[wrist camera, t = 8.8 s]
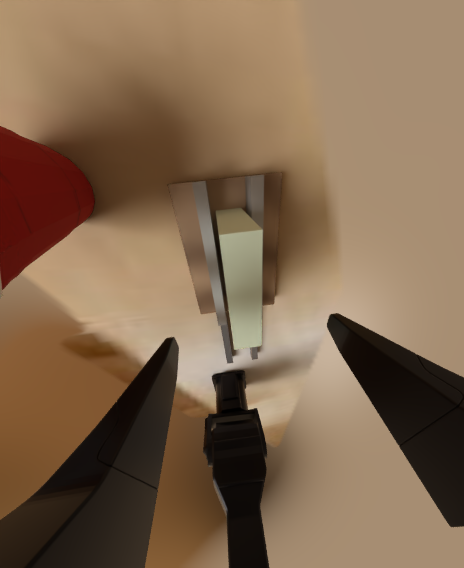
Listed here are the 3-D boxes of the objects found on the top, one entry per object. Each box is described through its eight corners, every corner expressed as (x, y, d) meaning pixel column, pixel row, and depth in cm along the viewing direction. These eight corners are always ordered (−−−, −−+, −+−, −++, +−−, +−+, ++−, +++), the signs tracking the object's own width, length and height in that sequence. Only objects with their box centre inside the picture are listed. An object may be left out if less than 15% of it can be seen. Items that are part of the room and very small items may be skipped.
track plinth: (270, 297, 24) (280, 316, 21) (201, 306, 24) (199, 328, 20) (276, 172, 16) (294, 171, 13) (171, 184, 16) (160, 185, 12)
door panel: (245, 292, 21) (261, 345, 15) (226, 295, 21) (234, 349, 14) (240, 207, 16) (262, 229, 9) (215, 210, 16) (219, 235, 9)
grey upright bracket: (256, 352, 31) (257, 358, 30) (226, 357, 31) (227, 363, 30) (255, 307, 25) (257, 313, 24) (218, 312, 25) (219, 318, 24)
